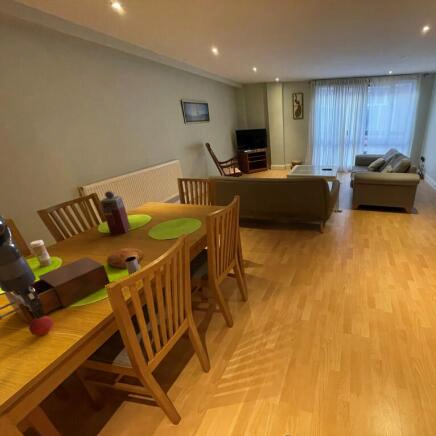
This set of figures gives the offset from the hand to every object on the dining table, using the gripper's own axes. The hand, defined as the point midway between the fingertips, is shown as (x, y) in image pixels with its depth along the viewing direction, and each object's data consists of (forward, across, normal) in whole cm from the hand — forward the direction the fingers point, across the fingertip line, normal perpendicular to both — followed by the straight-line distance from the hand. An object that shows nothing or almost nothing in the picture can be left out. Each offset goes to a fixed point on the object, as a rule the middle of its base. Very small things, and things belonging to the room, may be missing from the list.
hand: (35, 312), depth 80 cm
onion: (+10, 0, 0) cm, 10 cm away
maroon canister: (+10, -63, +59) cm, 87 cm away
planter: (+10, -4, +34) cm, 35 cm away
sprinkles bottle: (+10, -56, +19) cm, 60 cm away
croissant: (+10, -22, +40) cm, 46 cm away
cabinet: (+10, -16, +17) cm, 25 cm away
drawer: (+8, -16, +3) cm, 18 cm away
